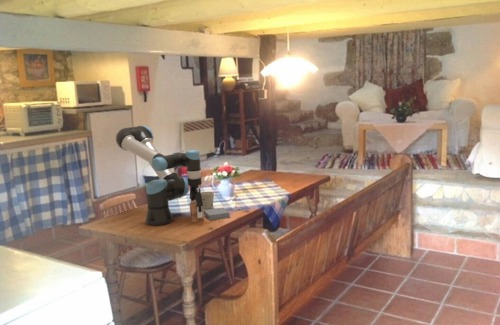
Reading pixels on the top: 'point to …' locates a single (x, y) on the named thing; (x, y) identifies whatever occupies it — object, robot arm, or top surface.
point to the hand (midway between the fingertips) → (197, 214)
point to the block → (195, 212)
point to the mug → (207, 200)
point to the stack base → (216, 214)
